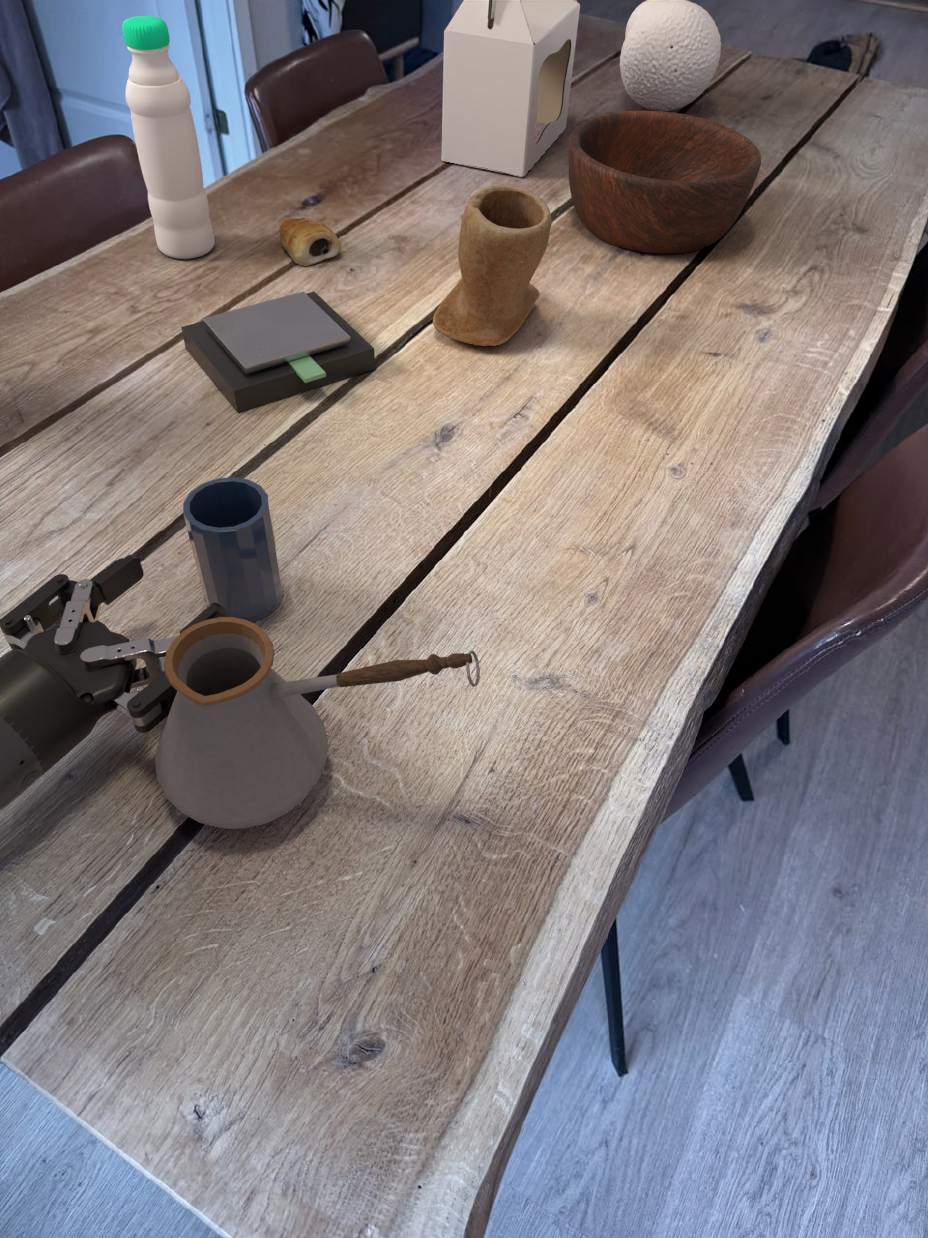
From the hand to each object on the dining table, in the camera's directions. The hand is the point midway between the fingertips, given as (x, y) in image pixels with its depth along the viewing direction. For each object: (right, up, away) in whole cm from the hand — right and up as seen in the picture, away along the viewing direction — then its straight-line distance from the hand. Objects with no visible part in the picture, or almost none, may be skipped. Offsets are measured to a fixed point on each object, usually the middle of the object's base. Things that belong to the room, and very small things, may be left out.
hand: (179, 587), depth 67 cm
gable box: (+28, +72, +75) cm, 108 cm away
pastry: (+1, +45, +49) cm, 66 cm away
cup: (+3, 0, +8) cm, 8 cm away
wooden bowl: (+47, +52, +58) cm, 91 cm away
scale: (+1, +26, +32) cm, 41 cm away
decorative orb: (+54, +86, +89) cm, 135 cm away
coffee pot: (+11, -14, -4) cm, 18 cm away
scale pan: (+1, +28, +29) cm, 41 cm away
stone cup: (+25, +32, +39) cm, 56 cm away
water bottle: (-14, +45, +48) cm, 67 cm away
